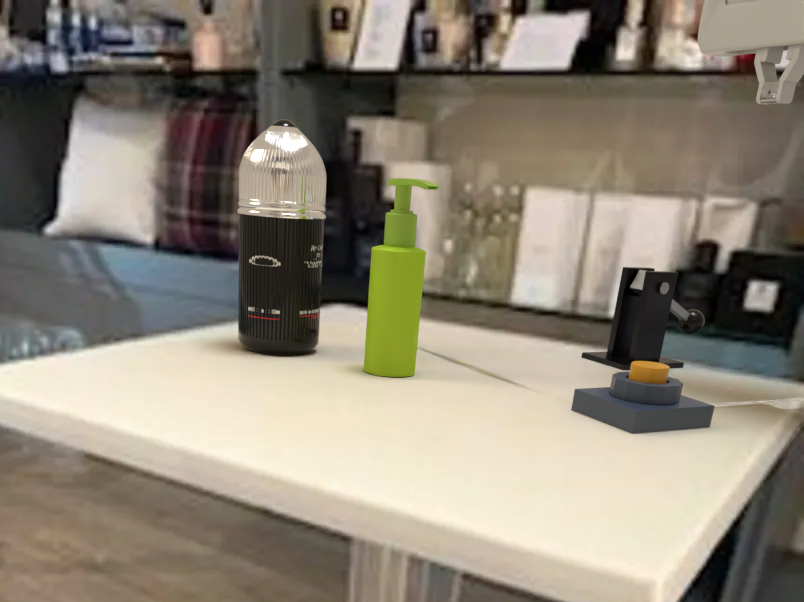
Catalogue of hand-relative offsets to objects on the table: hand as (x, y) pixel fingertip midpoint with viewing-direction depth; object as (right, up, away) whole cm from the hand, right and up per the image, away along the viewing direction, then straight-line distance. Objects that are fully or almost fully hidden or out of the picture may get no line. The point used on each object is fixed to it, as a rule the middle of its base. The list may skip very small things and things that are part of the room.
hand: (772, 103), depth 85 cm
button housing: (-13, -30, +2) cm, 33 cm away
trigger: (-1, -12, +26) cm, 29 cm away
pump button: (-12, -27, 0) cm, 30 cm away
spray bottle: (-50, -18, +23) cm, 58 cm away
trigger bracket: (-5, -18, +27) cm, 33 cm away
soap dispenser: (-37, -23, +14) cm, 45 cm away
